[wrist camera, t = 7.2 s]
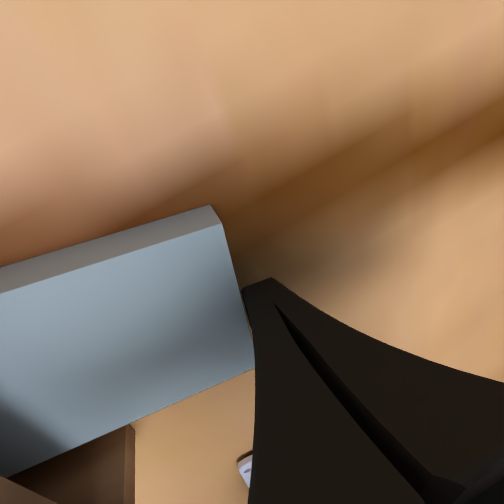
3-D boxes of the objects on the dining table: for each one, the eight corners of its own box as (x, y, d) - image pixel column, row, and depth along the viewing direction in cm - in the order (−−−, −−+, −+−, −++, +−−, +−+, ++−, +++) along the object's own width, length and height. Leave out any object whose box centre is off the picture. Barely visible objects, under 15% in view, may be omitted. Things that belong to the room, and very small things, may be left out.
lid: (243, 332, 13) (258, 366, 12) (-38, 447, 11) (-69, 510, 9) (206, 199, 9) (222, 223, 8) (-253, 335, 7) (-372, 412, 5)
